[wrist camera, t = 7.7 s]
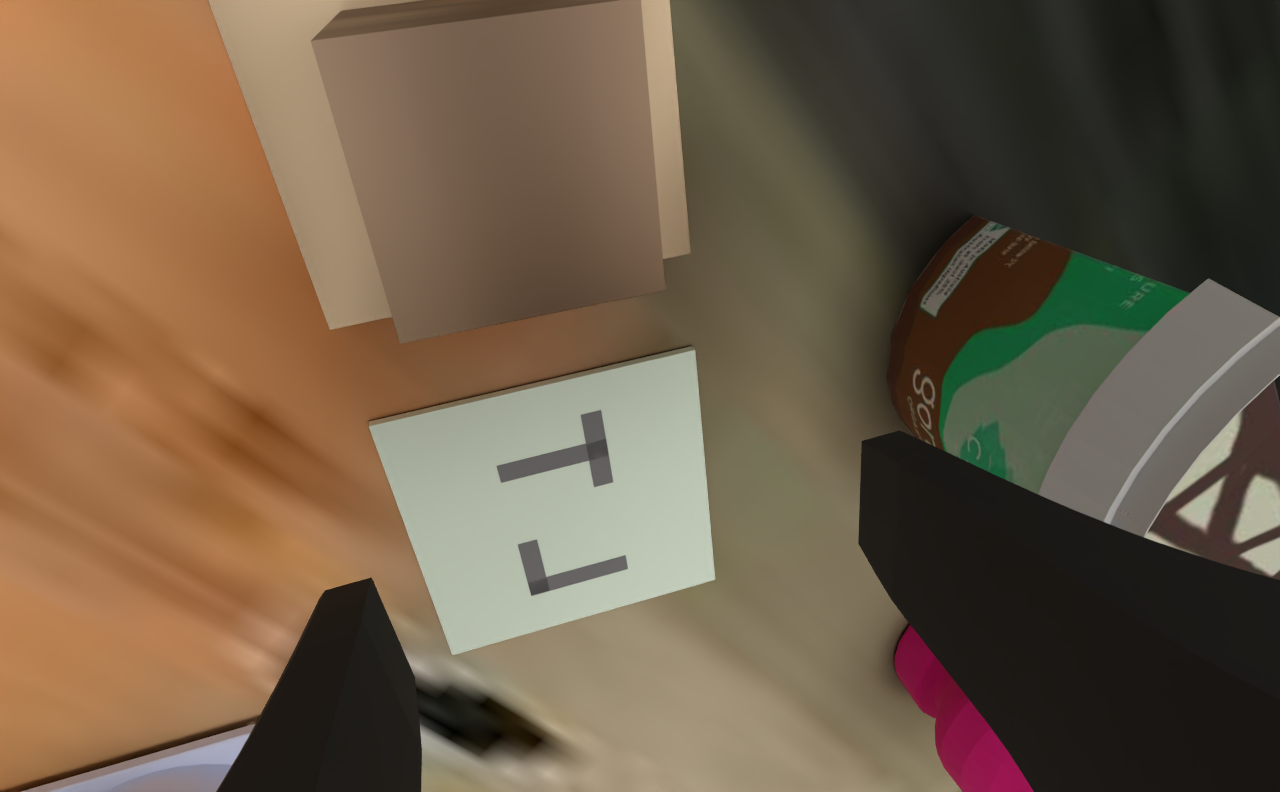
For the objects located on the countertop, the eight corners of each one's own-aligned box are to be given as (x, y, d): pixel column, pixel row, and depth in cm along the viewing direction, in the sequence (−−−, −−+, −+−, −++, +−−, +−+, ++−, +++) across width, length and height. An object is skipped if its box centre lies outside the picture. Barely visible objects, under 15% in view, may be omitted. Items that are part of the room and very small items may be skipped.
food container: (780, 318, 22) (1011, 543, 14) (955, 175, 21) (1314, 322, 13) (941, 535, 29) (1164, 776, 20) (1079, 432, 28) (1370, 639, 19)
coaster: (331, 319, 19) (330, 330, 18) (168, -127, 14) (160, -129, 13) (683, 245, 20) (690, 253, 20) (645, -180, 15) (653, -184, 15)
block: (400, 230, 17) (400, 343, 12) (341, 10, 15) (310, 40, 10) (592, 196, 18) (665, 290, 13) (565, -18, 16) (640, -3, 11)
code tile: (452, 649, 25) (452, 655, 25) (368, 421, 20) (368, 427, 20) (712, 574, 26) (715, 580, 26) (692, 345, 22) (695, 350, 21)
